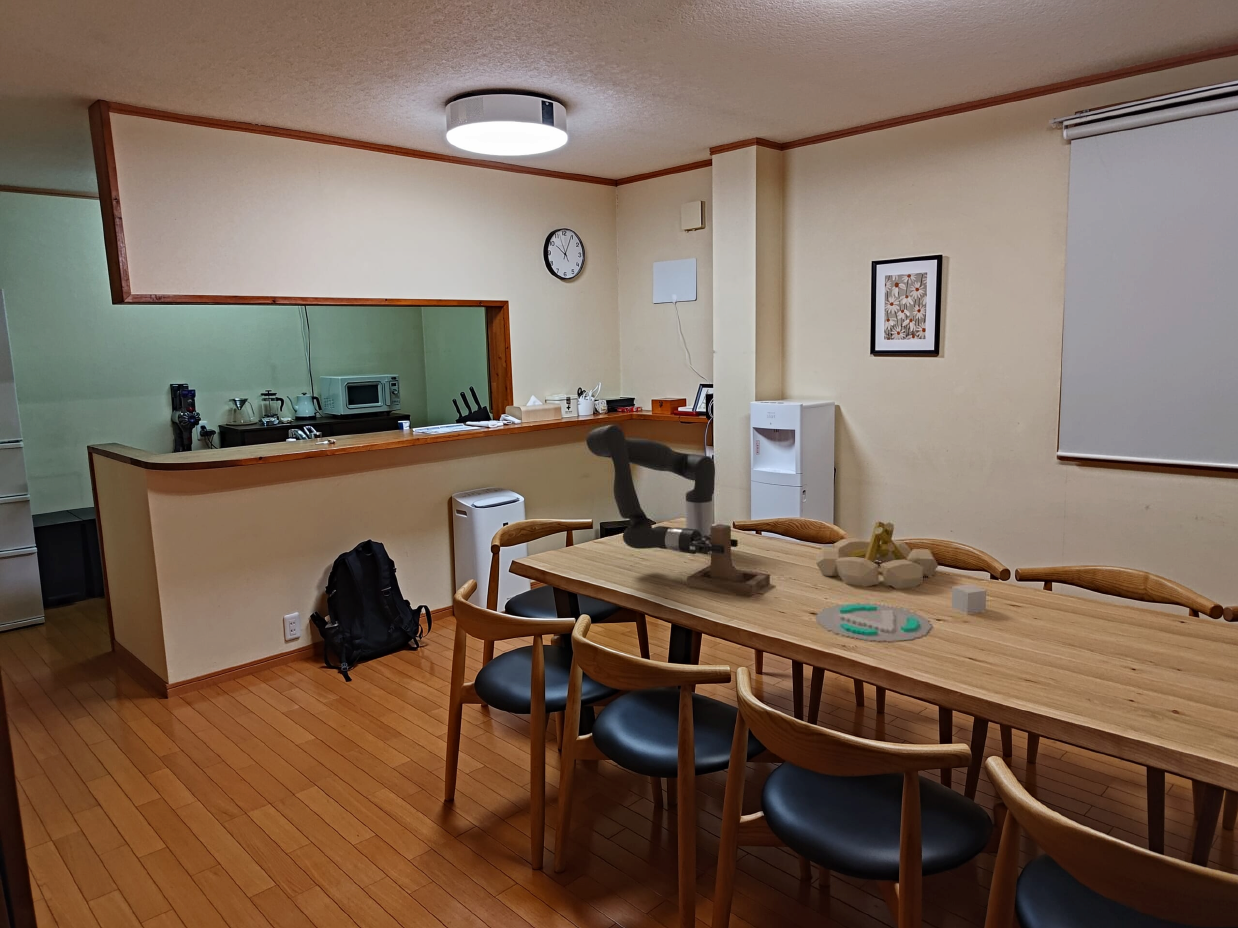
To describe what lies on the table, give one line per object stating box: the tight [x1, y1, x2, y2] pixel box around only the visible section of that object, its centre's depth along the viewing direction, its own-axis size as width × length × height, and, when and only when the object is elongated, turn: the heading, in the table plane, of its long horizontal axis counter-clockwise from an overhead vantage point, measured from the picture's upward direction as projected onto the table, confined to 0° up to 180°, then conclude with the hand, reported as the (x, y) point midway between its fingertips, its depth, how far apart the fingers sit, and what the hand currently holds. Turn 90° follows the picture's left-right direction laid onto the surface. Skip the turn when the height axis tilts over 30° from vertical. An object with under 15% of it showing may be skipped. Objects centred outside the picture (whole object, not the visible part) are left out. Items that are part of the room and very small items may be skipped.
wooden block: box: [710, 523, 744, 583], centre depth 243 cm, size 9×4×18 cm, turn 46°
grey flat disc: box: [815, 602, 934, 643], centre depth 211 cm, size 28×28×2 cm
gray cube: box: [950, 583, 987, 615], centre depth 219 cm, size 6×6×6 cm
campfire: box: [815, 521, 939, 590], centre depth 253 cm, size 35×34×17 cm
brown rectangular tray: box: [686, 564, 771, 598], centre depth 245 cm, size 15×20×3 cm
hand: (731, 546), depth 243 cm, fingers open, 8 cm apart
